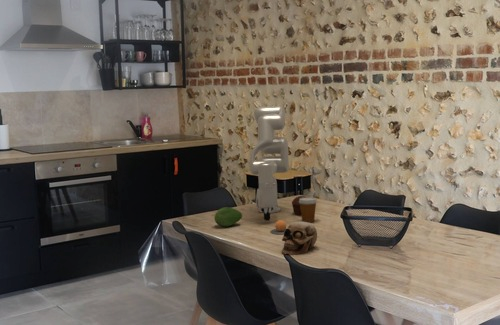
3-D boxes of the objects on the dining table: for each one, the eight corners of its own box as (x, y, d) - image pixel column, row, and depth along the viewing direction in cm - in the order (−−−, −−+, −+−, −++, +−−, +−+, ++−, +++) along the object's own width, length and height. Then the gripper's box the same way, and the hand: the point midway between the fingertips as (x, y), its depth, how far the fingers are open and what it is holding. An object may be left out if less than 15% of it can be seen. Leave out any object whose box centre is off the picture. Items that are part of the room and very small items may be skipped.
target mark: (266, 230, 317) (266, 230, 317) (288, 227, 321) (288, 227, 321) (275, 235, 306) (275, 235, 306) (298, 232, 310) (298, 232, 310)
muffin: (288, 213, 355) (287, 196, 354) (305, 211, 359) (304, 194, 358) (298, 217, 344) (298, 199, 343) (316, 214, 349) (315, 197, 347)
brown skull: (281, 255, 272) (281, 224, 272) (282, 248, 289) (282, 219, 289) (317, 255, 271) (318, 224, 271) (316, 249, 288) (317, 220, 288)
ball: (273, 219, 315) (277, 223, 310) (284, 217, 317) (288, 222, 312) (273, 229, 317) (277, 233, 312) (283, 228, 318) (287, 232, 313)
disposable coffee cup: (318, 222, 330) (317, 200, 328) (299, 223, 330) (299, 200, 328) (316, 218, 339) (315, 196, 338) (298, 219, 339) (298, 197, 338)
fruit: (238, 222, 338) (237, 203, 337) (246, 225, 330) (245, 207, 328) (212, 225, 332) (211, 207, 331) (219, 229, 323) (218, 210, 322)
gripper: (276, 183, 337) (277, 217, 339) (250, 186, 332) (251, 220, 334) (281, 185, 330) (282, 220, 332) (254, 188, 325) (256, 223, 327)
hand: (267, 220), depth 333 cm, fingers closed
